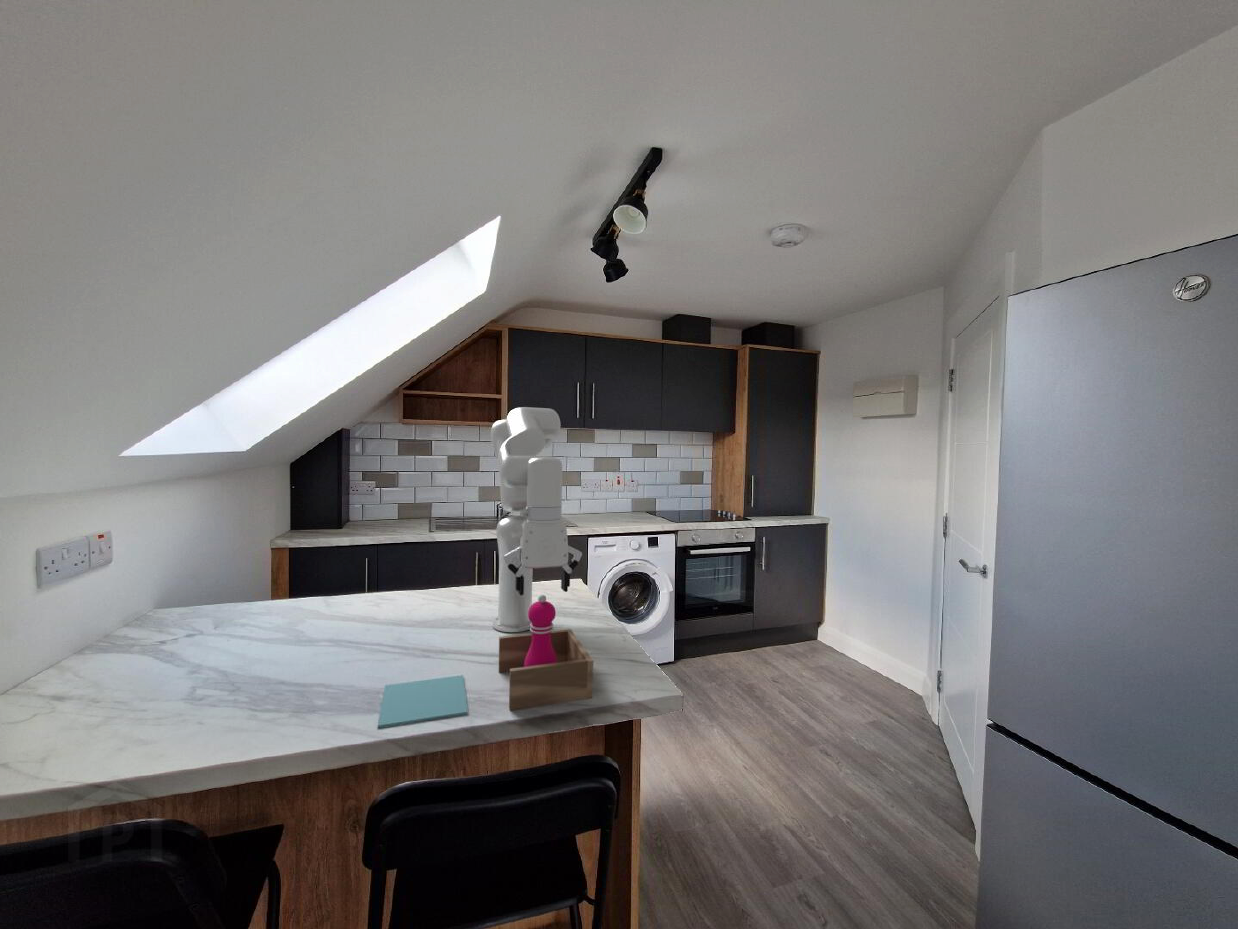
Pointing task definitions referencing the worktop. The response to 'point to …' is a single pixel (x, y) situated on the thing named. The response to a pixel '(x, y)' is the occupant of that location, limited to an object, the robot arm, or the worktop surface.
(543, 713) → the worktop surface
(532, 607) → the pepper mill
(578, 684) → the open side box
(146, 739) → the worktop surface
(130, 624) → the worktop surface
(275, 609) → the worktop surface
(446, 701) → the mat
